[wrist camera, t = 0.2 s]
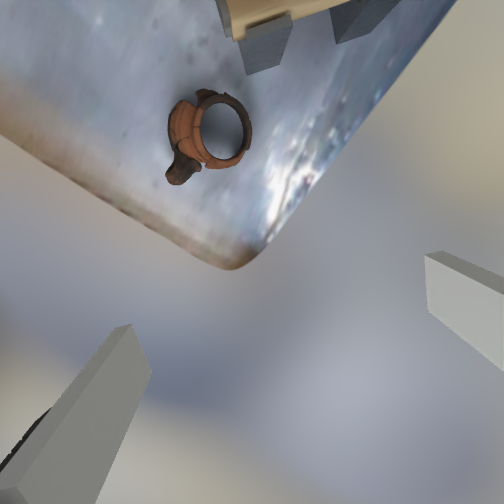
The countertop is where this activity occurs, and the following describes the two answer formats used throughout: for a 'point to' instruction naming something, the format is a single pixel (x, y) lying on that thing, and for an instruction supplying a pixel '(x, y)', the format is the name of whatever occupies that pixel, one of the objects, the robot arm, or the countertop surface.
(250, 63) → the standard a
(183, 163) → the pottery mug
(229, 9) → the oak rail
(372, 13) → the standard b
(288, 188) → the countertop surface
